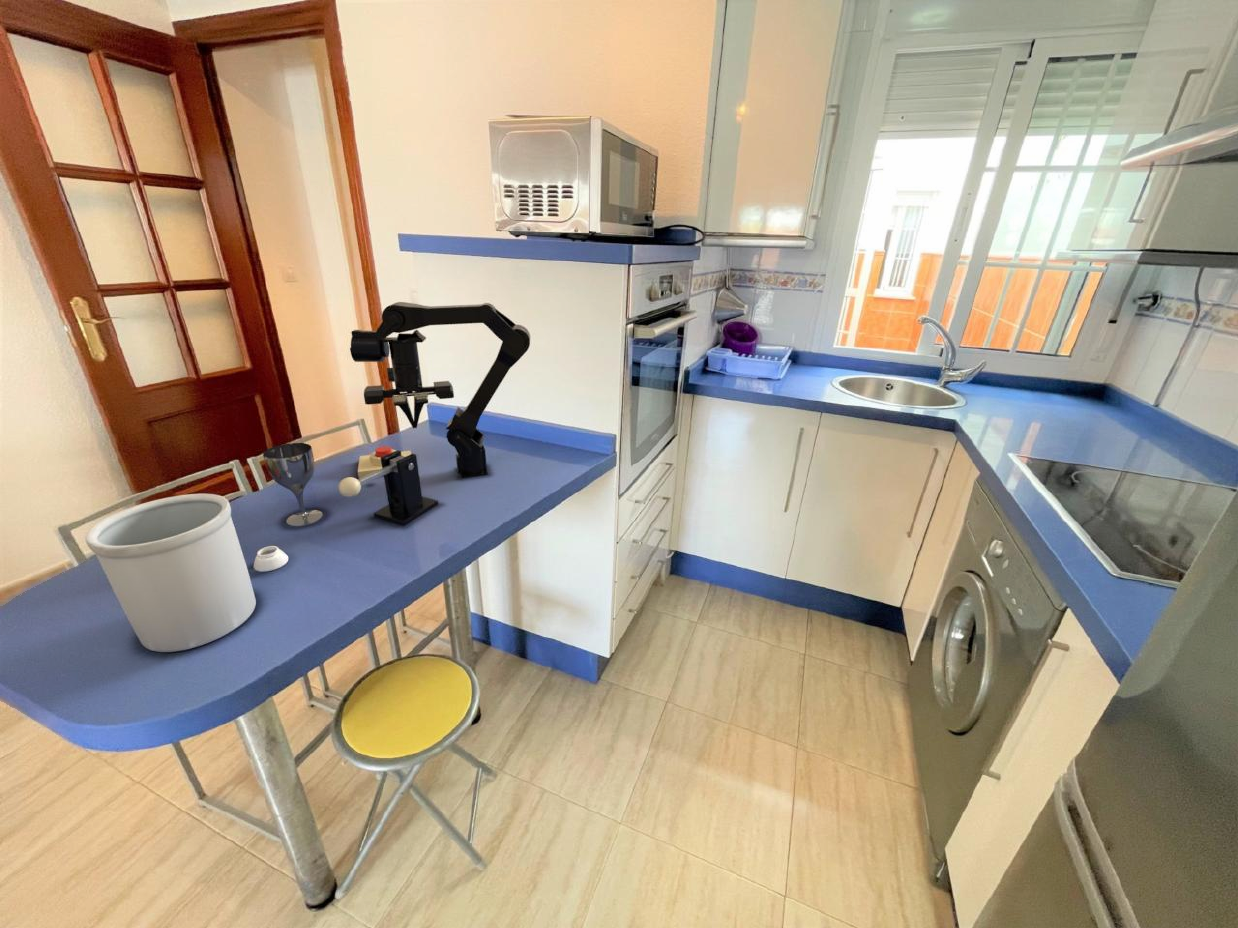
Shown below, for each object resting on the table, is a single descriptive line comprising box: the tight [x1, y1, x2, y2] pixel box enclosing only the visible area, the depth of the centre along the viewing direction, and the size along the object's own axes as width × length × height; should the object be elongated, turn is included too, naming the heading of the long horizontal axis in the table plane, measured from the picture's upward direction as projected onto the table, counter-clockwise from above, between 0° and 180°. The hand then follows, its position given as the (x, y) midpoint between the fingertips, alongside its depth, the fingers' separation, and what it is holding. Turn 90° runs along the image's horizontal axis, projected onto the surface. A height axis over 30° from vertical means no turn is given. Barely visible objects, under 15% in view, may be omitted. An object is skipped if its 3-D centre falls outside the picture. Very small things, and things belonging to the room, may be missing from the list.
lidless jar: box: [253, 545, 289, 573], centre depth 87 cm, size 5×3×5 cm
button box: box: [357, 448, 412, 479], centre depth 125 cm, size 12×10×4 cm
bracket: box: [373, 449, 439, 527], centre depth 103 cm, size 10×8×13 cm
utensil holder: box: [84, 493, 257, 653], centre depth 71 cm, size 15×15×18 cm
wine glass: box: [262, 442, 323, 527], centre depth 99 cm, size 8×8×15 cm
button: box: [374, 445, 392, 457], centre depth 124 cm, size 4×4×2 cm
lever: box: [338, 456, 404, 498], centre depth 96 cm, size 15×4×4 cm, turn 157°
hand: (414, 427), depth 118 cm, fingers closed
